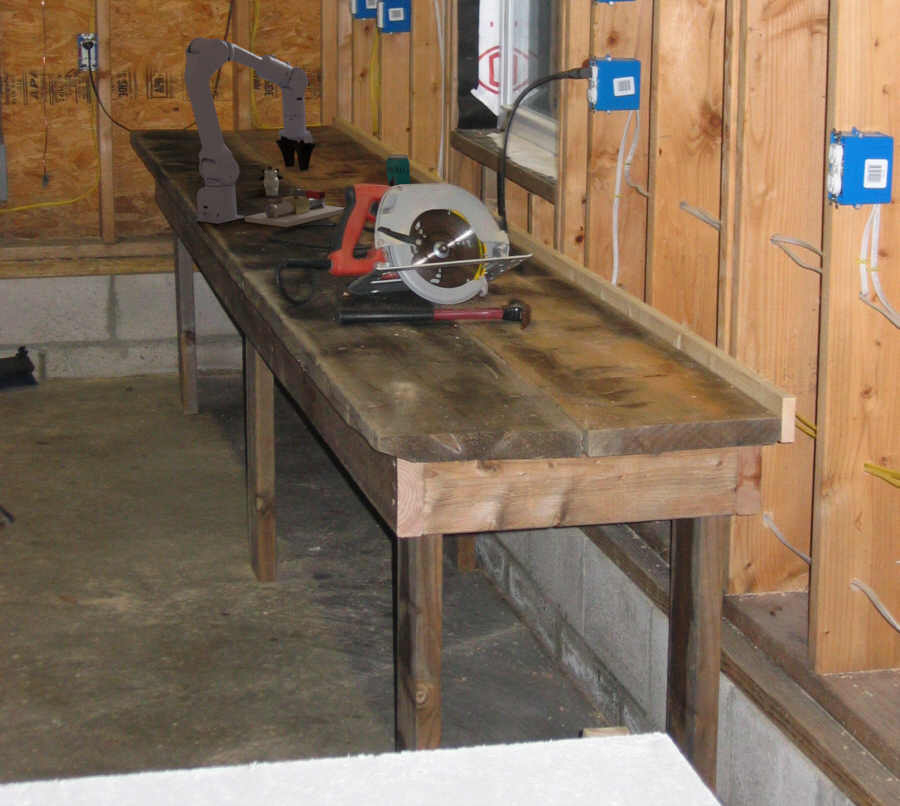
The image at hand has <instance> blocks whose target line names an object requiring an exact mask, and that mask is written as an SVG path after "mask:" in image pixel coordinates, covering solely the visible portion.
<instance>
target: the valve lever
mask: <svg viewBox="0 0 900 806" xmlns="http://www.w3.org/2000/svg"><path fill="white" fill-rule="evenodd" d="M325 192H326V191H325V190H321V189H320V190H319V189H301V188H298V187H297V188H295V187H294V188H290V189H289V196H302V197H306V198H311V199H324V198H325V199H326V193H325Z"/></svg>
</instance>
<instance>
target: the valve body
mask: <svg viewBox="0 0 900 806" xmlns="http://www.w3.org/2000/svg"><path fill="white" fill-rule="evenodd" d="M326 202H327V200H326V197H325V198H324V199H311V198H306V197H302V196H291V195H289V196H284V197H282V198H281V203H276V204H274V203H270V204H267V205H266V206H265V208H264V212H265V213H266V216H267V217H268V218H274V219H275V218H277V217H279V216H283V215H288V214H295V215H298V214H302V213H306V212H310V209H314V208H318V207H321V208H322V207H325V205H326V204H327V203H326ZM326 206H327V205H326Z"/></svg>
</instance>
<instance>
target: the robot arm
mask: <svg viewBox="0 0 900 806" xmlns="http://www.w3.org/2000/svg"><path fill="white" fill-rule="evenodd" d="M184 53H185V57H186V60H185V68H184V74H183V77H184V84H185V86H186V91H187V94H188V98H189V101H190V106H191V108H192V113H193V116H194V117H193V118H194V121H195V124H196V127H197V132H198V135H199V139H200V143H201V147H202V148H201V150H200V151H199V153H198V158H199V166H198V168H199V169H198V170H199V173H200V175H201V177H202V178H203V180H204V183H205V184H204V187H201V188H199V190H197V194H196V206H197V216H198V217H197V218H196V219H195V221H197V222H201V223H209V224H217V225H218V224H222V223H226V222H227V223H229V222H233V221H237V220H240V219H245V217H246V216H245V215H242V214H241V215H240V214H238V213H237V212H238V211H237V210H238V208H237V207H238V206H237V197H236V194H237V193H236V181H237V179H238V178H239V176H240V166H239V164H238V162H237V161H236V160H235V158H234V156H233V153H232V151H231V150H230V148H228V147H227V145H226V144H225V140H224V137H223V132H222V129H221V125H220V122H219V117H218V114H217V110H216V106H215V105H216V104H215V102H214V99H213V98H214V97H213V95H212V91H211V87H210V79H211V78H212V76H213V75H214V74H215V72H217V71H218V70H219V69H220V68H222V67H223V66H224V65H225V64H226V62H235V63H238V64H241V65H243V66H246V67H249V68H250V69H254V71H255V73H256V76H258V77H260V78H262V79H264V80H266V81H268V82H269V83H272V84H274V85H277V86H278V87H279V89H281V100H282V101H281V104H282V122H283V124H282V125H283V129H279V130H278V132H277V133H278V139H277V140H276V141H275V143H276V145H277V147H278V148H279V150H280V152H281V155H282V158H283V162H284V165H285V168H292V167H295V160H296V156H297V162H298V168H299V171H301V172H302V171H309V168H310V162H311V158H312V154H313V152H314V149H315V148H316V146H317V145H316V142H314V140H313V134H311V131H310V130H307V124H306V123H307V122H306V121H307V119H306V105H305V104H306V102H305V101H306V100H305V96H306V89H307V86H308V85H309V81H310V79H309V78H308V77H307V73H306V72H305V70H304V69H302V68H301V67H296V66H295V67H293V66H292V65H291V63H290V62H288V61H285V62H283V61H282V60H279V59H277V58H276V57H277V56H276V55H275V54H270V53H269V54H264V55H262V56H258V55H256V54H255V53H252V52H251V51H249V50H247V49H245V48H242V47H241V46H239V45H237V44H235V43H233V42H230V41H226V40H223V39H222V38H205V37H195V38H193V39H192V40H191V41H190V42H189V43H188V46H186V49H185V50H184Z"/></svg>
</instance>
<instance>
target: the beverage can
mask: <svg viewBox="0 0 900 806" xmlns="http://www.w3.org/2000/svg"><path fill="white" fill-rule="evenodd" d="M386 158H387V159H386V164H385V165H386V167H385V168H386V169H385V170H386V186H387V185H389V186H393V185H399V184H410V185H411V172H410V171H411V168H410V165H411V164H410V159H409V156H408V154H407V155H406V154H390V155H387V156H386Z"/></svg>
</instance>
